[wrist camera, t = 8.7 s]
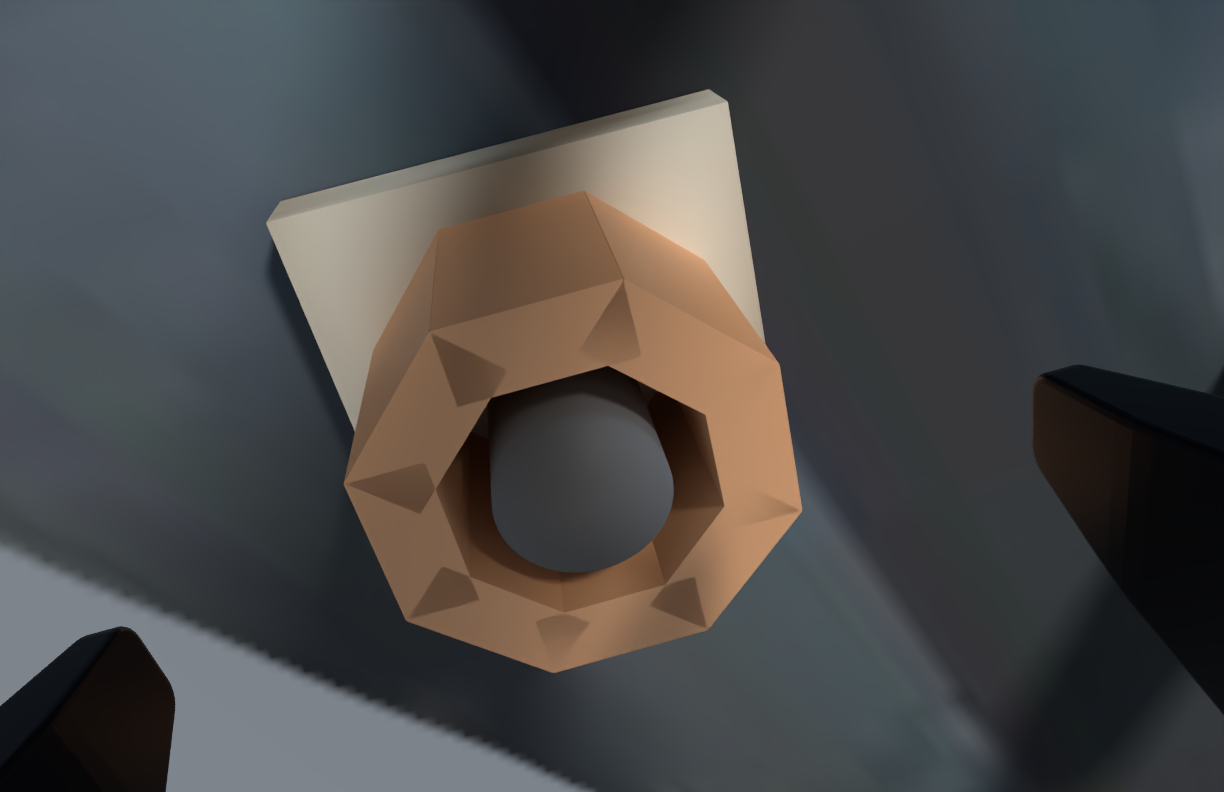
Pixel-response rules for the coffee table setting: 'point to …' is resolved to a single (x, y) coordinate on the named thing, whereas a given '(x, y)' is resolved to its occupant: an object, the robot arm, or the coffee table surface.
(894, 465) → the coffee table surface
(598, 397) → the shaft block
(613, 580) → the ring
